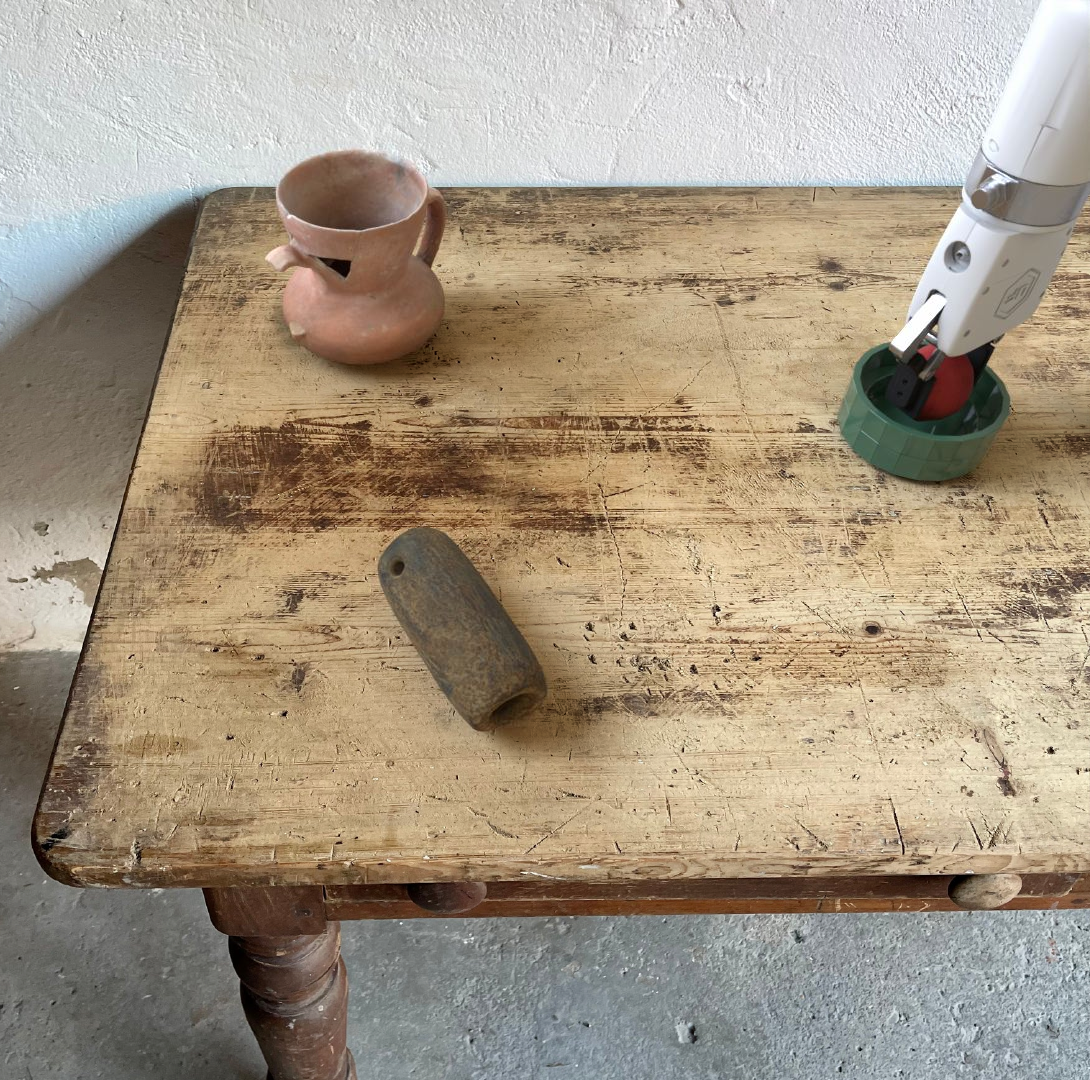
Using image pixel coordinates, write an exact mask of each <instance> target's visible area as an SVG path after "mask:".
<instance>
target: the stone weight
mask: <svg viewBox="0 0 1090 1080" xmlns="http://www.w3.org/2000/svg"><path fill="white" fill-rule="evenodd" d="M377 575H378V579H379V583H380V587H381V590H382V592H383V594H384V597H385V599H386V601H387V603H388V605H389V607H390V609H391V611H392V613H393V614H394V616H395V618H396V620H397V621H398V623H399V625H400V626H401V628H402V630H403V631H404V633H405V635H406V636H407V638H408V639H409V641H410V643H411V644H412V646H413V647H414V649H415V650H416V653H417V654H418V655H419V656H420V658H421V660H422V661H423V663H424V664H425V667H426V668H427V669H428V671H429V673H430V674H431V676H432V678H433V679H434V681H435V682H436V685H437V687H438V688H439V690H440V691H441V692H442V694H443V695H444V696H445V697H446V698H447V701H448V702H449V703H450V704H451V705H452V707H453V709H454V710H456V711H457V713H458V714H459V716H460V717H461V718H462V719H463V720H464V721H465V722H466V724H468V725H469V726H470V727H471V728H472V729H473V730H474V731H477V732H480V733H481V732H482V733H488V732H492V731H494V730H497V729H500V728H502V727H504V726H507V725H509V724H512V723H513V722H515V721H519V720H522V719H525V718H527V717H529V716H531V715H533V714H534V713H535V712H536V711H538V710H539V709H540V708H542V705H543V704H544V702H545V701H546V698H547V696H548V683H547V678H546V675H545V673H544V670H543V668H542V666H541V664H540V662H539V659H538V658H537V656H536V654H535V652H534V650H533V649H532V648H531V646H530V644H529V642H528V641H527V639H526V638H525V636H524V635H523V634H522V632H521V631H520V629H519V628H518V626H517V625H516V623H515V622H514V621H513V619H512V618H511V616H510V615H509V614H508V612H507V611H506V609H505V607H504V606H503V605H502V602H500V601H499V599H498V598H497V596H496V595H495V594H494V592H493V590H492V589H491V587H490V586H489V584H488V583H487V582H486V580H485V579H484V577H483V576H482V574H481V573H480V572H479V570H478V568H477V567H476V566H475V565H474V564H473V562H472V561H471V559H469V557H468V556H467V555H466V554H465V553H464V551H463V550H462V549H461V547H460V546H459V545H458V544H457V543H456V542H455V541H454V539H452V538H451V537H450V536H449V535H448V534H447V533H446V532H444V531H442V530H440V529H437V528H434V527H430V526H417V527H412V528H410V529H408V530H406V531H404V532H402V533H401V534H399V535H398V536H397V537H395V538H394V539H393V540H392V541H391V542H390V543H389V545H388V546H387V547H386V548H385V549H384V551H383V552H382V554H381V555H380V556H379V559H378V562H377Z"/></svg>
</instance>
